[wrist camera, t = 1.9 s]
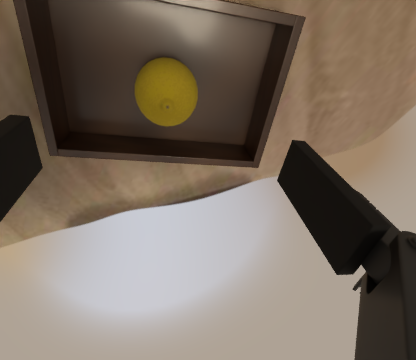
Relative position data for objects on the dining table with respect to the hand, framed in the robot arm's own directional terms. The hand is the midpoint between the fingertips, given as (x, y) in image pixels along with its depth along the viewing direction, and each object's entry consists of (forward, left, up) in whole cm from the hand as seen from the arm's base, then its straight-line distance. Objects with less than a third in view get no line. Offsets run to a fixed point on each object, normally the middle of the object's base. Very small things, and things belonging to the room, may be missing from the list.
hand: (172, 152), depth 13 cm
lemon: (0, 0, -15) cm, 15 cm away
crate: (0, 0, -15) cm, 15 cm away
